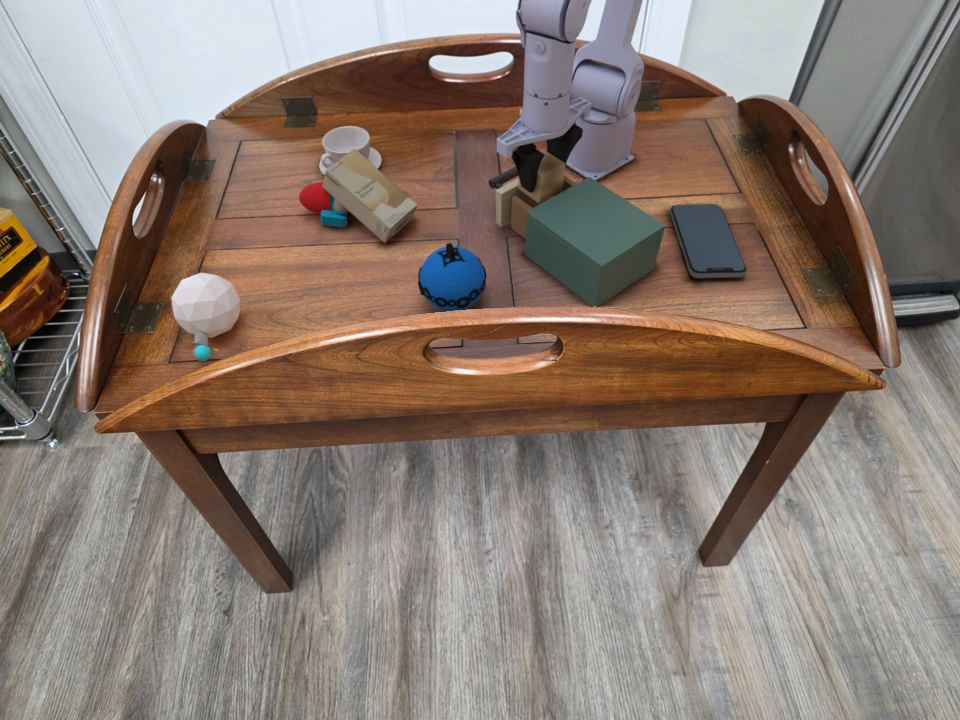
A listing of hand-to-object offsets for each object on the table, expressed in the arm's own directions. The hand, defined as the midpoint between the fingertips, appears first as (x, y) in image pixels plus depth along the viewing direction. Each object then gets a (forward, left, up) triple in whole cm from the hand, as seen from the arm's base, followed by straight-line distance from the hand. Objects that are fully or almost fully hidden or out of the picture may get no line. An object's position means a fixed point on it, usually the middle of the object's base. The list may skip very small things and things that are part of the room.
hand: (541, 181), depth 89 cm
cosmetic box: (+16, -11, -6) cm, 20 cm away
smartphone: (-15, +18, -8) cm, 25 cm away
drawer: (0, +1, -7) cm, 7 cm away
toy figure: (+19, -20, -8) cm, 29 cm away
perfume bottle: (+46, -11, -8) cm, 48 cm away
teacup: (+13, -31, -8) cm, 34 cm away
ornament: (+19, +4, -8) cm, 21 cm away
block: (0, 0, -1) cm, 1 cm away
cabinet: (0, +10, -8) cm, 13 cm away
